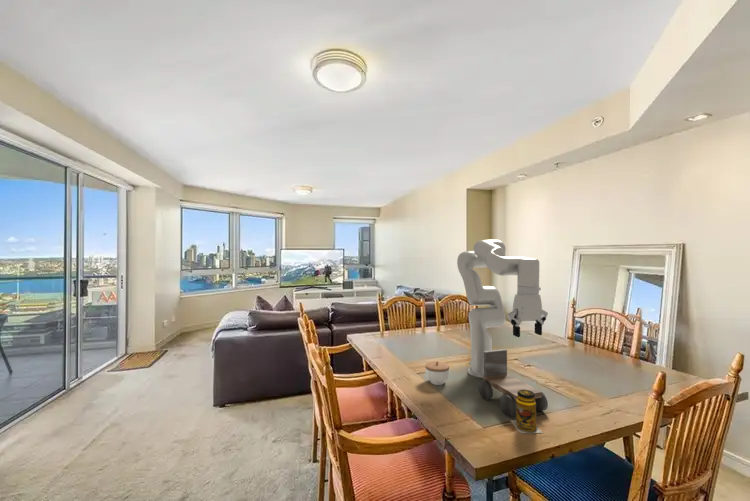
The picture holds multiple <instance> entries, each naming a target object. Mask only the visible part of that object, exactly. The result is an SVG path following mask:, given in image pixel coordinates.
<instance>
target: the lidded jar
mask: <svg viewBox="0 0 750 501" xmlns="http://www.w3.org/2000/svg"><path fill="white" fill-rule="evenodd" d="M424 367H425V376H426V378H427V380H428V381H429V382H430V383H431V384H432V385H435V386H442V385H444V384H445V382H446V381H447V380H448V379H449V375H450V364H448V363H446V362H444V361H437V360H436V361H435V360H433V361H429V362H426V363H425V365H424Z"/></svg>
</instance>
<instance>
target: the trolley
mask: <svg viewBox="0 0 750 501" xmlns="http://www.w3.org/2000/svg"><path fill="white" fill-rule="evenodd" d="M493 388H494V389H496V391H497V390H498V392H500V393H501V394H504V395H501V396H500V398H499V405H500V409H501V411H502V413H503V414H504V415H505V416H507V417H508V418H511V417H514V416H515V417H516V416H517V415H516V400H517V398H518V397H517V395H518V394H517V392H518V391H519V390H529V391H532V392H533V393H534V395H535V402H536V412H543V411H546V410H547V409H548V404H549V403H548V398H547V397H546V395H545V393H544V392H543V391H542V390H540V389H537V388H536V387H533V386H532V385H529V384H528V383H525V382H524V381H522V380H520V379H519V378H516V377H515V376H513V375H511V374H509V373H508V350H507V349H506V348H503V349H502V348H500V349H492V350H491V351H484V376H483V378H482V380H481V381H478V385H477V390H478V393H479V396H480V397H481V399H482V400H484V401H486V400H491V399H492V398H493V395H494V393H493V392H494V390H493Z"/></svg>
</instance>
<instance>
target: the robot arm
mask: <svg viewBox="0 0 750 501" xmlns="http://www.w3.org/2000/svg"><path fill="white" fill-rule="evenodd" d="M472 249H473V250H468V251H463V252H461V253H459V254H458V256H457V260H456V264H457V266H456V267H457V270H458V273H459V274H460V277H461V278H462V282H463V284H464V285H463V286H464V290H465V294H466V298H467V301H468V304H469V305H470V306H473V307H474V308H472V309H470V311H469V312H468V322H469V329H470V330H469V331H470V361H468V364H469V365H470V367H469V368H468V369H467V373H468V374H469V376H471V377H475V378H478V379H483V376H484V351H491V350H493V349H492V347H493V346H492V342H493V341H492V340H493V339H492V335H491V334H490V331H489V330H488V328H498V327H503V326H504V325H505V324H506V321H507V319H508V321H509V322H508V323H510V324H511V325H512V336H513V337H516V338H521V326H520V325H521V323H522V322H533V321H534V334H536V335H537V336H538V335H539V336H542V335H543V325H544V322H545V321H546V320H547V317H548V315H549V314H548V312H547V311H546V310H544V309H543V306H542V298H541V294H540V291H541V287H540V260H539V259H538V258H536V257H535V258H533V257H525V256H506V245H505V243H504V242H503V241H501V240H499V239H482V240H478V241H476V242H475V243H474V245H473V247H472ZM473 268H474V269H476V268H479V269H480V268H481V269H482V268H487V269H488V270H489V271H491V272H492V273H493V274H496V275H498V276H501V277H503V276H507V277H508V276H517V279H516V281H517V283H516V284H517V286H516V288H517V289H516V293H515V294H514V297H513V298H514V299H513V303H512V311H511V312H509V313H508V314H507V315H506V312H505V309H504V304H503V300H502V297H501V296H502V295H501V294H500V291H499V290H498V289H497V287H495V286H492V285H483V284H482V280H481V276H480V275H479V273H478V272H477V271H475V270H474V269H473ZM476 306H478V307H476ZM481 306H485V307H481ZM487 306H488V307H487ZM506 318H507V319H506Z"/></svg>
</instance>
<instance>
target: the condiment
mask: <svg viewBox="0 0 750 501" xmlns="http://www.w3.org/2000/svg"><path fill="white" fill-rule="evenodd" d="M517 394H518V395H517V397H518V398H517V400H516V415H515V418H516V419H514V420H513V419H509V422H510V423H511V424H512V425H513V426H514V427H515V429H516V430H517V431H518V432H519V434H541V433H542V434H543V433H544V432H543V431H542V430H541V429H540V428H539V427H538V426H537V411H536V402H535V395H534V393H533V392H532V391H529V390H519V391H518V392H517Z"/></svg>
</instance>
